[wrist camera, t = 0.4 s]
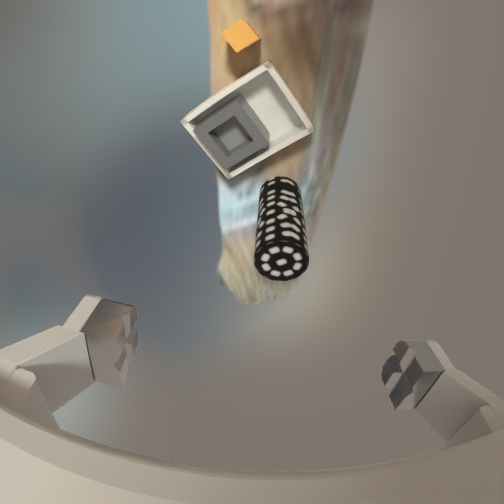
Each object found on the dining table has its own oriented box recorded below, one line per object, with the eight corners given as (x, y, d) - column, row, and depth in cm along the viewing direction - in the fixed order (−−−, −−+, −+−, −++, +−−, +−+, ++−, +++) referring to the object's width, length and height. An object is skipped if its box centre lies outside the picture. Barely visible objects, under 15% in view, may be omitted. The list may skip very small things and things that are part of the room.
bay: (269, 59, 43) (268, 62, 38) (312, 123, 50) (316, 134, 45) (186, 114, 50) (176, 124, 45) (231, 169, 58) (226, 185, 53)
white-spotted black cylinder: (290, 170, 57) (296, 232, 42) (306, 203, 62) (316, 271, 46) (252, 185, 60) (244, 251, 45) (270, 216, 64) (268, 286, 49)
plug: (247, 21, 38) (243, 18, 33) (260, 38, 40) (259, 38, 35) (227, 33, 40) (220, 33, 35) (241, 50, 42) (236, 52, 37)
